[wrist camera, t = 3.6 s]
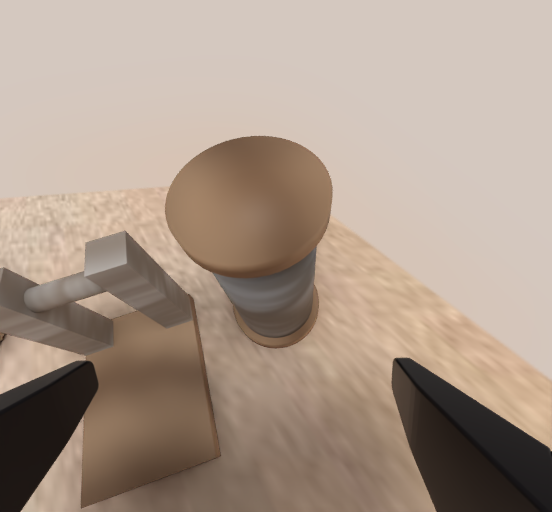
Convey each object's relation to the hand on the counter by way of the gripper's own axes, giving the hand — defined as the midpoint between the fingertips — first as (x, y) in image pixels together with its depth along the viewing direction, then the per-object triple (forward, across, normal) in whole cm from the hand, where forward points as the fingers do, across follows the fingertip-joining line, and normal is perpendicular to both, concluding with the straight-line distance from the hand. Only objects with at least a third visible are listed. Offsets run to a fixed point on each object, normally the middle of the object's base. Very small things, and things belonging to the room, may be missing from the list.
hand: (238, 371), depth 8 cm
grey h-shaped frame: (+9, +9, +8) cm, 15 cm away
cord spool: (+13, 0, +4) cm, 14 cm away
